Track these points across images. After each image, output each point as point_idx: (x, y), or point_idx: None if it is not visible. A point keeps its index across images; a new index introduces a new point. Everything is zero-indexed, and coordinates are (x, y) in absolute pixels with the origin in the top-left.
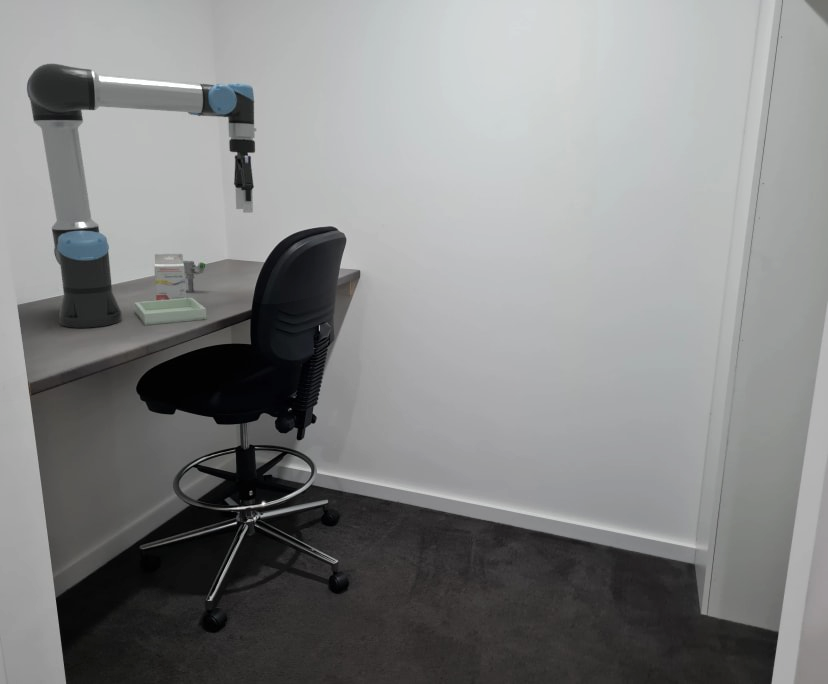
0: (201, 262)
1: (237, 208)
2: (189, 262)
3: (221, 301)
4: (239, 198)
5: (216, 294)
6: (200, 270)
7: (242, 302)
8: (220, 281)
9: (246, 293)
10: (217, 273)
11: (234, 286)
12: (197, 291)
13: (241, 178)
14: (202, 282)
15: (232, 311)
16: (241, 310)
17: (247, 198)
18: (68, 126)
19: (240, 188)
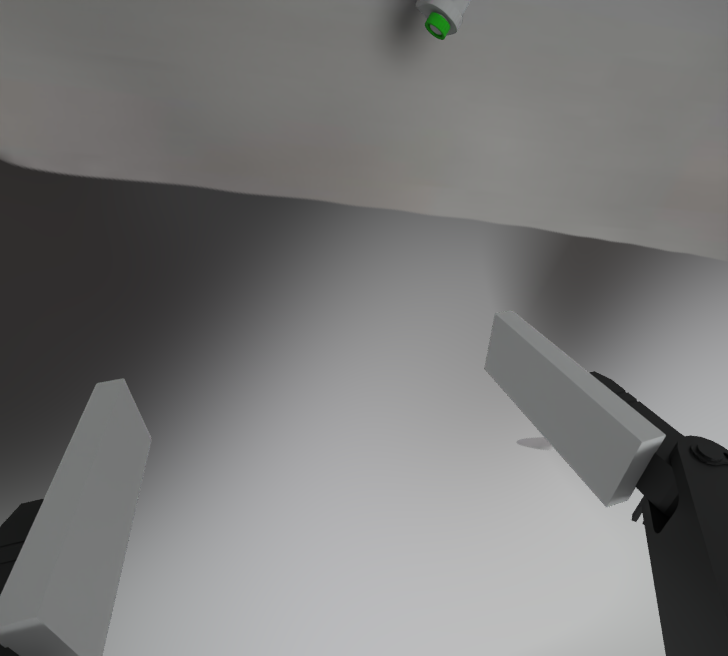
0: (448, 16)
1: (495, 322)
2: None
3: (215, 92)
4: (545, 389)
5: (351, 87)
6: (422, 12)
7: (191, 172)
8: (562, 130)
9: (345, 199)
10: (682, 134)
11: (467, 170)
12: None
13: (683, 631)
14: (575, 58)
15: (9, 115)
16: (35, 154)
17: (2, 549)
18: None
19: (616, 475)
